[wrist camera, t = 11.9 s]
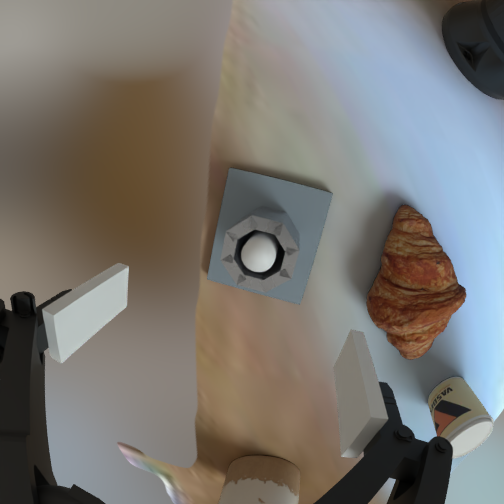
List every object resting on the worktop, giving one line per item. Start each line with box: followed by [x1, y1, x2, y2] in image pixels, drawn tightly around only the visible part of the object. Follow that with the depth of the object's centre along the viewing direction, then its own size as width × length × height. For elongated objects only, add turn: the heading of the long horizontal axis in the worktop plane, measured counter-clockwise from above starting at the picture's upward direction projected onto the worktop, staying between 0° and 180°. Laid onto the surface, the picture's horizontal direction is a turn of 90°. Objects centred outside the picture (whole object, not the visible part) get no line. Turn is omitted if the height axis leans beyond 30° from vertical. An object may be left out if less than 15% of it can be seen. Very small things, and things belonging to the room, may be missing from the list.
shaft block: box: [207, 168, 333, 305], centre depth 32 cm, size 14×12×8 cm
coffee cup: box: [428, 377, 493, 459], centre depth 32 cm, size 9×9×12 cm
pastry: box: [366, 205, 466, 360], centre depth 31 cm, size 17×15×8 cm
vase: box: [218, 455, 300, 504], centre depth 41 cm, size 15×15×17 cm
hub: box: [220, 206, 300, 293], centre depth 31 cm, size 7×7×7 cm
